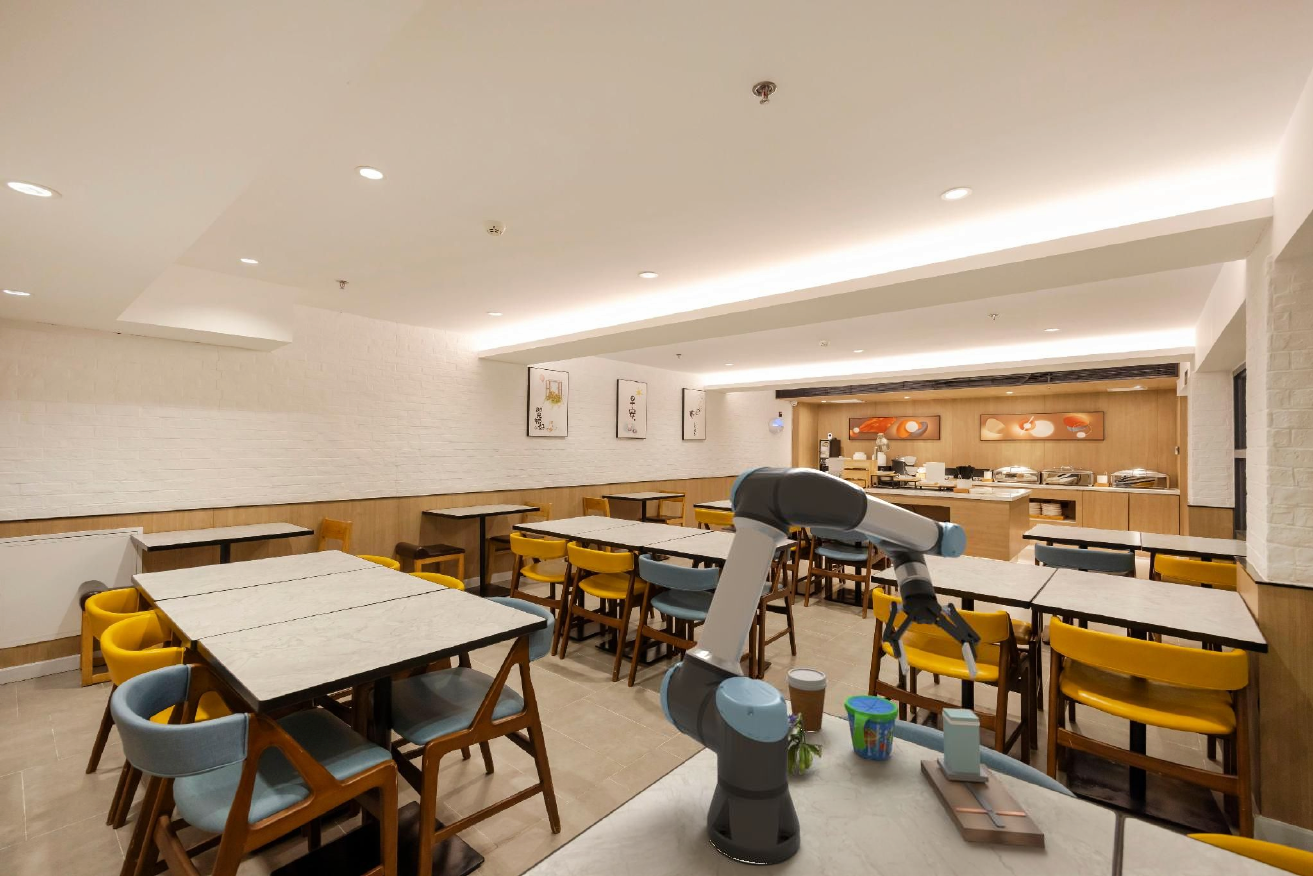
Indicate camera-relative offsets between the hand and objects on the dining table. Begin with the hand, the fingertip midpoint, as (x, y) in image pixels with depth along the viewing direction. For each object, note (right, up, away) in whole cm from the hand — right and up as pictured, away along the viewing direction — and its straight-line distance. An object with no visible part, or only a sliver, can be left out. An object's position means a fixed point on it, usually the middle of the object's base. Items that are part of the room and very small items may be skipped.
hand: (940, 673), depth 120 cm
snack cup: (-14, -17, +1) cm, 22 cm away
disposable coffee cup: (-24, -18, +14) cm, 33 cm away
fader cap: (-1, -14, -11) cm, 18 cm away
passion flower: (-32, -17, -3) cm, 36 cm away
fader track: (-2, -16, -17) cm, 24 cm away
